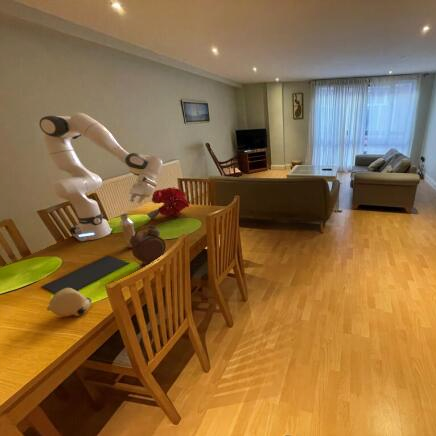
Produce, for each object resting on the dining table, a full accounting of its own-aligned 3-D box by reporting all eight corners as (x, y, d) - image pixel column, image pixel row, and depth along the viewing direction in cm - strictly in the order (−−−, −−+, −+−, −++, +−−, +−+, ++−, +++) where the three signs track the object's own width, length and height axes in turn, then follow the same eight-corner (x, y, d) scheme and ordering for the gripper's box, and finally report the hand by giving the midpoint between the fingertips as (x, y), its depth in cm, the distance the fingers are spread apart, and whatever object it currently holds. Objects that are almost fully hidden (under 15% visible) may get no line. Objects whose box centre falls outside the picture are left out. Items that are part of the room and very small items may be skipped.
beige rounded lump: (70, 328, 90) (87, 311, 88) (35, 314, 85) (52, 295, 83) (86, 309, 99) (101, 293, 97) (55, 294, 94) (70, 277, 92)
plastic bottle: (130, 250, 137) (120, 218, 129) (124, 247, 140) (114, 215, 132) (142, 245, 142) (133, 214, 134) (136, 242, 145) (127, 212, 137)
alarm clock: (161, 253, 133) (152, 220, 125) (169, 256, 130) (161, 223, 122) (134, 266, 122) (123, 231, 114) (142, 270, 118) (131, 234, 110)
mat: (41, 286, 108) (41, 286, 107) (107, 256, 131) (107, 255, 131) (64, 297, 101) (63, 296, 101) (128, 263, 124) (128, 262, 124)
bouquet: (159, 232, 173) (193, 207, 177) (133, 207, 163) (170, 182, 167) (162, 223, 192) (193, 201, 196) (139, 200, 182) (173, 177, 186)
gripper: (132, 178, 144) (121, 198, 141) (148, 178, 132) (136, 201, 129) (143, 183, 149) (132, 203, 146) (159, 184, 137) (148, 206, 134)
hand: (134, 202), depth 137 cm, fingers open, 8 cm apart
